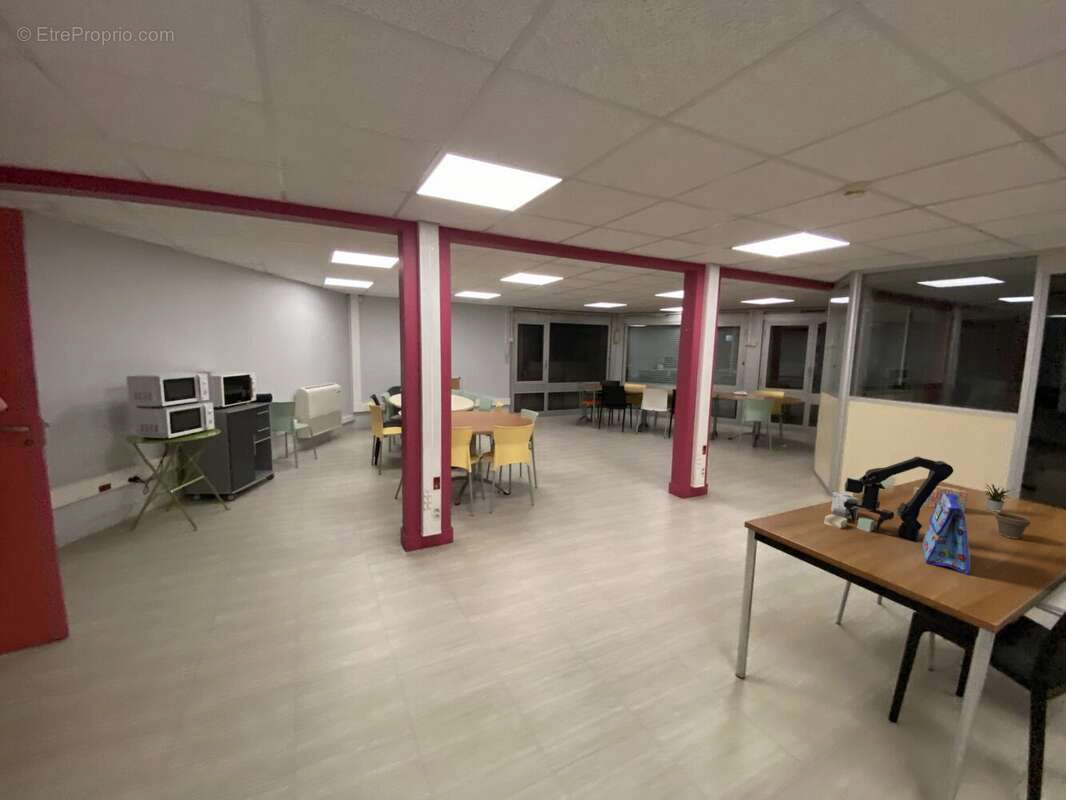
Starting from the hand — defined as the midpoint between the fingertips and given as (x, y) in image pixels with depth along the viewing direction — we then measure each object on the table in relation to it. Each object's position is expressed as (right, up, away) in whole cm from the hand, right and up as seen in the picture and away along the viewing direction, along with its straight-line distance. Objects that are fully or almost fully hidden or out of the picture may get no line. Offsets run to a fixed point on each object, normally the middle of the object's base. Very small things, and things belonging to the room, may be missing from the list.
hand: (865, 526), depth 208 cm
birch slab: (-12, -1, +4) cm, 13 cm away
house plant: (+102, -2, +37) cm, 108 cm away
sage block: (0, -2, 0) cm, 2 cm away
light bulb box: (+2, 0, +18) cm, 18 cm away
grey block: (-5, 0, +11) cm, 12 cm away
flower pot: (+71, -5, 0) cm, 71 cm away
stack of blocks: (+70, -1, +37) cm, 80 cm away
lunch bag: (+11, -6, -28) cm, 31 cm away
